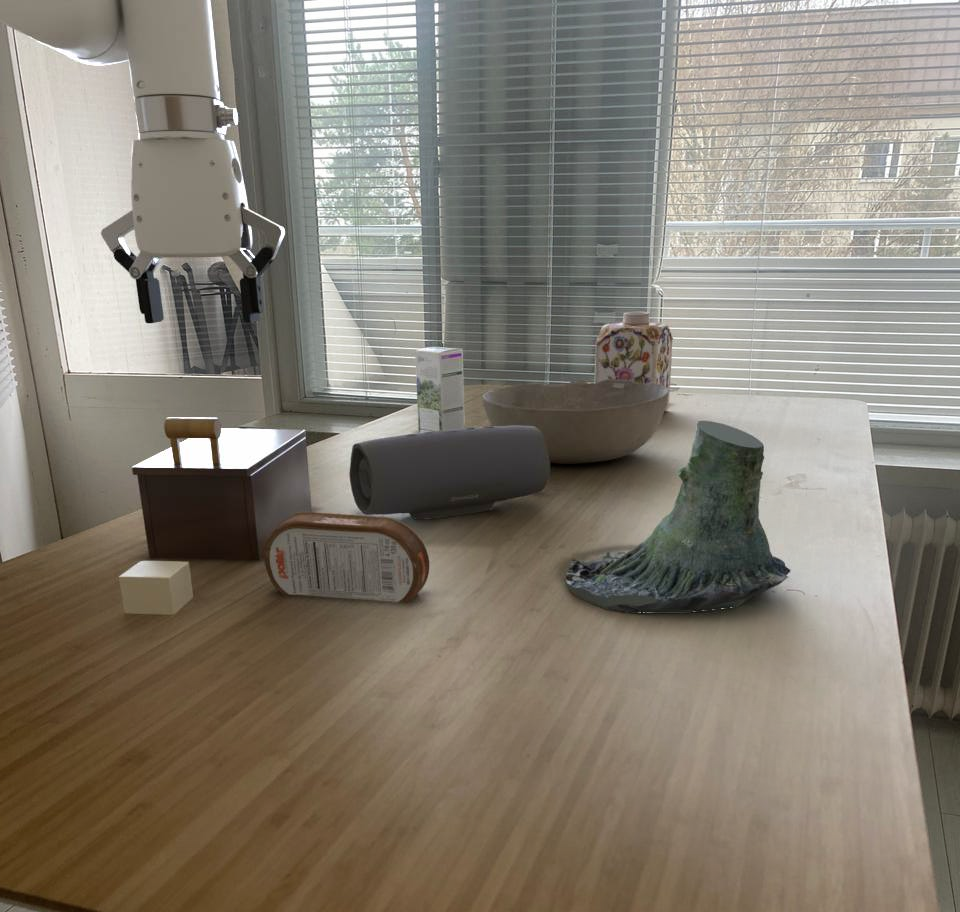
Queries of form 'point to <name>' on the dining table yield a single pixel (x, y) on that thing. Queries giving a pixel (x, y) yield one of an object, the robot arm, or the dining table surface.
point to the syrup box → (439, 388)
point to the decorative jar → (634, 351)
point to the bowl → (582, 416)
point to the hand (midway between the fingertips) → (203, 321)
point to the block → (156, 587)
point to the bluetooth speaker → (448, 470)
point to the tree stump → (694, 538)
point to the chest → (224, 509)
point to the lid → (216, 449)
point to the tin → (346, 557)
